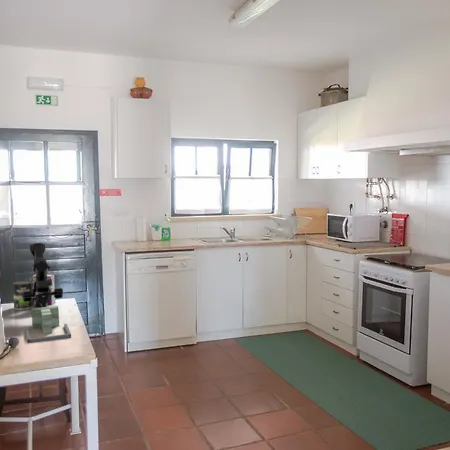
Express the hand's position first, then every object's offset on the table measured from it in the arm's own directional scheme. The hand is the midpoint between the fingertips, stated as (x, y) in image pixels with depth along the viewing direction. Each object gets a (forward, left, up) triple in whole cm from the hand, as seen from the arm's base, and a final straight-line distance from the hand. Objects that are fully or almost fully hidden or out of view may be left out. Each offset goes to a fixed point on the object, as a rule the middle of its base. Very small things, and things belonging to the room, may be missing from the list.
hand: (44, 309), depth 247 cm
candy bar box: (-40, -8, -7) cm, 42 cm away
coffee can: (-33, -18, -7) cm, 38 cm away
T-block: (+10, +3, -7) cm, 12 cm away
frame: (+17, +5, -7) cm, 19 cm away
